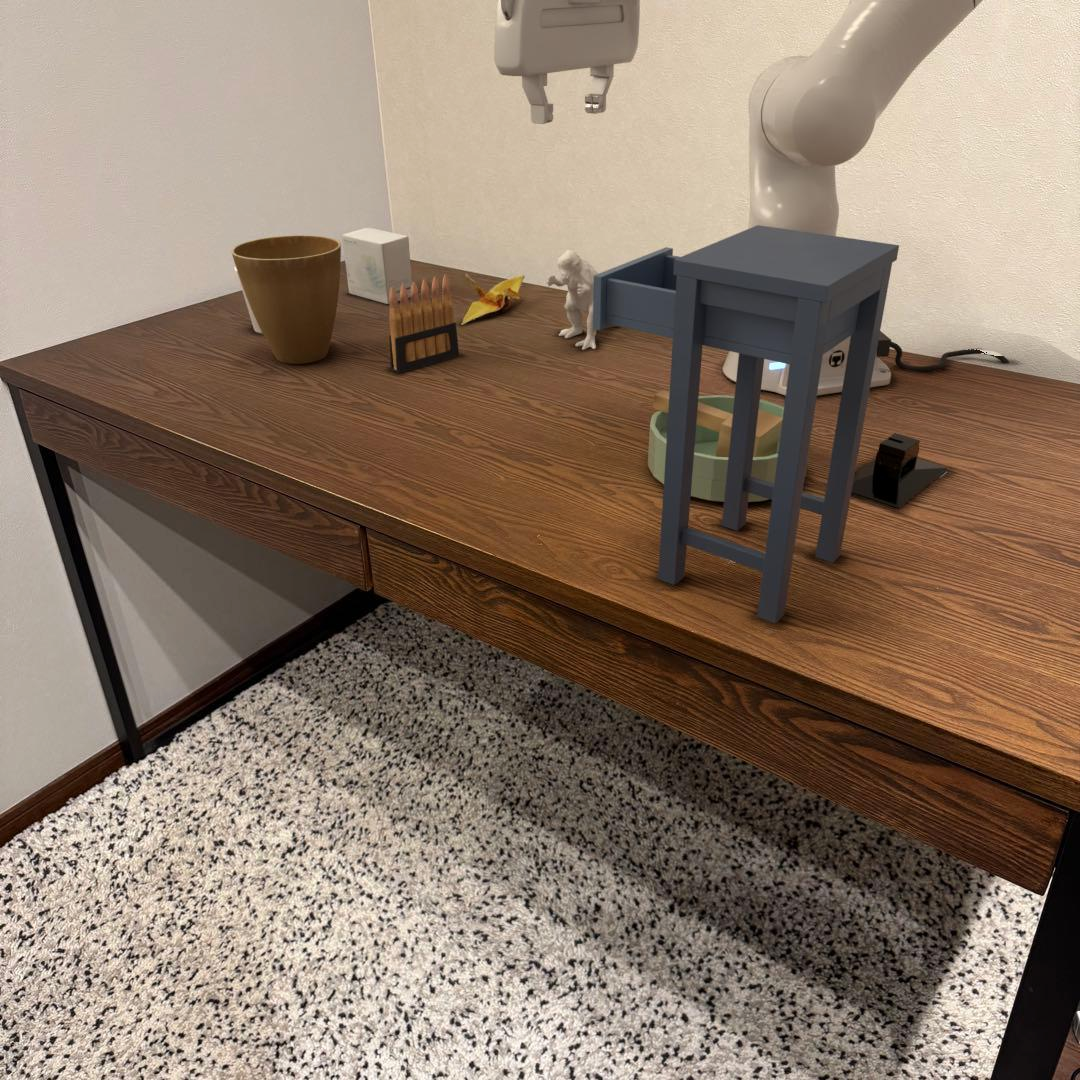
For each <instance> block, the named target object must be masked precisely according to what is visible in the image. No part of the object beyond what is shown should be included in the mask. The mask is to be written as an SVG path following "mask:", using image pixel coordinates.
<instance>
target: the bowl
mask: <svg viewBox="0 0 1080 1080" xmlns="http://www.w3.org/2000/svg"><path fill="white" fill-rule="evenodd" d="M734 397H735V395H726V394H725V395H723V394H716V395H715V394H714V395H699V397H698V402H700V403H703V404H706V405H708V406H711V407H714V408H717V409H720V410H722V411H725V412H728V413H731V414H733V407H734ZM759 410H761V411H764V412H767V413H770V414H773V415H776V416H779V417H782V418H783V412H784V405H781V404H777V403H774V402H771V401H768V400H765V399H760V402H759ZM667 425H668V414H667V413H665V412H662V411H659V410H657V411H656V412H654V413H653V414H652V415H651V419H650V423H649V432H648V433H649V434H648V435H649V436H648V450H647V451H648V452H647V454H648V455H647V466H648V469H649V470H650V471H649V472H651V475H652V477H654V478H655V479H656V480H657V481H658V482H660V483H661V484H663V485H664V474H665V458H666V441H667ZM719 434H720V433H719V432H716V431H713V430H711V429H708V428H705V427H703V426H700V425H697V424H696V435H695V448H694V460H693V473H692V486H691V497H694V498H698V499H702V500H706V501H711V502H722V503H724V497H725V487H726V477H727V467H728V457H715V455H716V450H717V445H718V439H719ZM780 435H781V434H780ZM811 441H812V437H811V438H810V443H811ZM779 443H780V439H779ZM779 443H778V447H777V451H776V454H774V455H770V456H766V457H753V462H752V471H751V477H754V478H757V479H761V480H764V481H767V482H771V483H774V481H775V474H776V466H777V458H778V451H779ZM810 449H811V444H810V445H809V450H810ZM809 454H810V451H809V452H808V456H810V455H809ZM808 462H809V457H808V458H807V463H808ZM807 468H808V464H807V465H806V470H807ZM806 474H807V471H806V472H805V477H806ZM768 500H769V499H768V498H765V497H761V496H758V495H755V494H752V493H749V497H748V503H753V502H764V501H768Z"/></svg>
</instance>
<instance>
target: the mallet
mask: <svg viewBox="0 0 1080 1080" xmlns="http://www.w3.org/2000/svg"><path fill="white" fill-rule="evenodd" d="M669 393H670V390H666V389H663V388H662V389H661V390H659V391H657V392H655V393H654V396H653V404H652V409H654V410H657V411H658V410H659V411H662V412H665V413H667V414H668V409H669ZM732 417H733V414H731V413H728V412H725V411H722V410H720V409H717V408H714V407H711V406H708V405H706V404H703V403H700V402H698V410H697V422H696V424H697V425H700V426H703V427H705V428H708V429H711V430H713V431H716V432H719V433H720V434H719V439H718V445H717V450H716V455H715V457H729V447H730V437H731V427H732ZM782 420H783V418H782V417H779V416H776V415H773V414H770V413H767V412H764V411H761V410H758V419H757V428H756V436H755V445H754V454H753V457H766V456H770V455H774V454H776V451H777V447H778V443H779V439H780V434H781V427H782Z"/></svg>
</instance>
